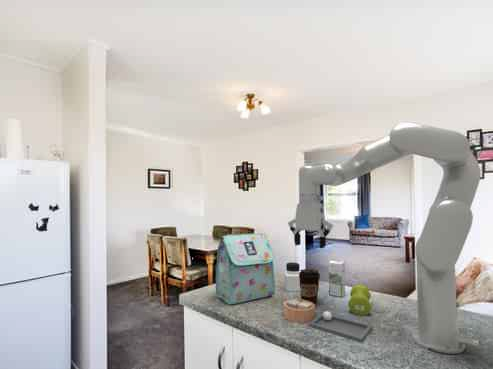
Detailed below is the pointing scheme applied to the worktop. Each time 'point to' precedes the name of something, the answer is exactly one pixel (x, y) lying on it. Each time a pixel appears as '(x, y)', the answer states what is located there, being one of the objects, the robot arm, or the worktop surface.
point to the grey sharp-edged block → (293, 304)
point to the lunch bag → (244, 268)
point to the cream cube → (304, 305)
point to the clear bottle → (337, 278)
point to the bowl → (299, 313)
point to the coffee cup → (309, 285)
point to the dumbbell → (360, 300)
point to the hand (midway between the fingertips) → (309, 246)
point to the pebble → (327, 315)
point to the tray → (342, 327)
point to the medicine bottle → (292, 277)
